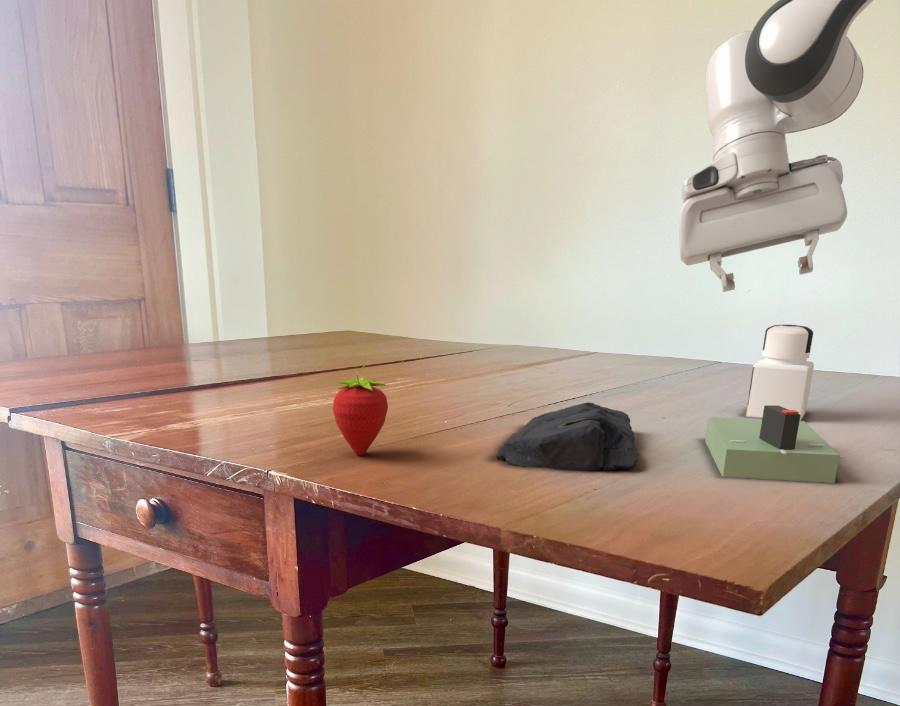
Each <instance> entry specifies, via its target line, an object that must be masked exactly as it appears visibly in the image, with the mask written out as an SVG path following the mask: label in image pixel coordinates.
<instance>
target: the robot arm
mask: <svg viewBox="0 0 900 706" xmlns="http://www.w3.org/2000/svg"><path fill="white" fill-rule="evenodd" d="M873 1H874V0H778V1H776V2H775V3H773V4H772V5H771V6H770V7H769V8H768V9H767V10H766V11H765V12H764V13H763V14H762V15H761V17H760V18H759V19H758V21H757V22H756V24H755V25H754V27H753V29H751V30H746V31H742V32H740V33H737V34H735V35H734V36H732V37H730V38H729V39H727V40H726V41H724V42H723V43H722V44H721V45H720V46H719V47H718V48H716V49H715V50H714V52H713V53H712V54H711V56H710V58H709V61H708V63H707V66H706V70H705V77H704V93H705V108H706V109H705V110H706V118H707V125H708V130H709V132H710V134H711V137H712V139H713V152H712V162H711V163H710V164H708V165H706V166H705V167H703V168H701V169H700V170H698V171H696V172H695V173H693V174H691V175H689V176H688V177H687V178H686V179H684V182H683V185H682V189H681V197H682V198H681V199H682V203H683V204H682V206H681V208H680V212H679V221H678V222H679V223H678V226H679V227H678V243H679V257H680V261H681V262H682V263H684V264H685V265H686V266H693V265H698V264H701V263H706V262H709V265H710V266H709V269H710V270H711V271H712V272H713V274H714V275H715V276H716V277H717V278H718V279H719V280H720V282H721V289H722V292H723V293H725V292H730V291H734V290H735V288H736V284H735V280H734V279H735V276H734V272H730V273H726V272H725V270H724V269H723V267H722V262H723V260H722V259H723V258H727V257H732V256H735V255H740V254H744V253H748V252H752V251H757V250H761V249H766V248H769V247H774V246H779V245H782V244H783V245H784V244H788V243H791V242H796V241H800V240H804V246H805V247H809V248H808V250H807V252H806V254H805V256H800V257H798V260H797V267H798V274H799V276H800V275H806V274H811V273H813V271H814V262H813V254H814V252H815V250H816V247H817V245H818V242H819V240H820V236H821V235H825V234H829V233H833V232H838V231H839V230H840V229H841V228H842V226H843V225H844V224H845V222H846V220H847V217H848V207H847V202H846V198H845V194H844V191H843V190H844V189H843V187H842V184H843V182H844V173H843V171H844V170H843V166H842V163H841V161H840V160H839V159H838V158H837V157H833V156H828V154H821V155H817V156H815V157H813V158H808V159H801V160H797V161H793V162H789V160H790V159H789V153H788V146H787V145H788V144H787V139H786V134H793V133H799V132H803V131H806V130H811V129H814V128H818V127H822V126H825V125H827V124H830V123H832V122H834V121H835V120H837V119H838V118H840V117H841V116H843V114H845V113H846V112H847V111H848V110H849V109H850V108H851V106H852V105H853V103H854V102H855V100H856V99H857V97H858V96H859V93H860V91H861V89H862V85H863V82H864V81H863V80H864V66H863V62H862V59H861V57H860V55H859V54H858V52H857V50H856V48H855V47H854V44H853V42H852V41H851V39H850V38H849V37H848V36H847V35H848V32H849V30H850V28H851V26H852V24H853V22H854V21H855V20H856V19H857V17H858V16H859V15H860V14H861V13H862V12H863V11H864V10H865V9H866V8H867V7H868V6H870V5H871V4H872V3H873Z"/></svg>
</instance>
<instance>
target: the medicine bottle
mask: <svg viewBox="0 0 900 706" xmlns="http://www.w3.org/2000/svg"><path fill="white" fill-rule="evenodd" d="M813 337H814V331H813V330H812V328H810V327H808V326H804V325H798V324H773V325H771V326H768V327H767V328H766V330H765V333H764V339H763V345H762V350H761V351H762V352H761V356H762V357H763V358H761V359H759V360H758V361H757V362H756V363H754V364H753V366H752V371H751V372H752V373H751V378H750V384H749V391H748V398H747V404H746V411H745V417H747V418H752V419H762V418H763V411H764V406H773V405H779V406H781V407H783V408H786V409H788V410H795V411H798V412H799V413H798V414H800V421H802V419H803V418H804V416H805V415H806V412H807V407H808V401H809V396H810V391H811V384H812V379H813V373H814V367H815V363H814V362H813V361H808V359H809V358H810V356H811V355H810V354H811V350H812V342H813Z"/></svg>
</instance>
